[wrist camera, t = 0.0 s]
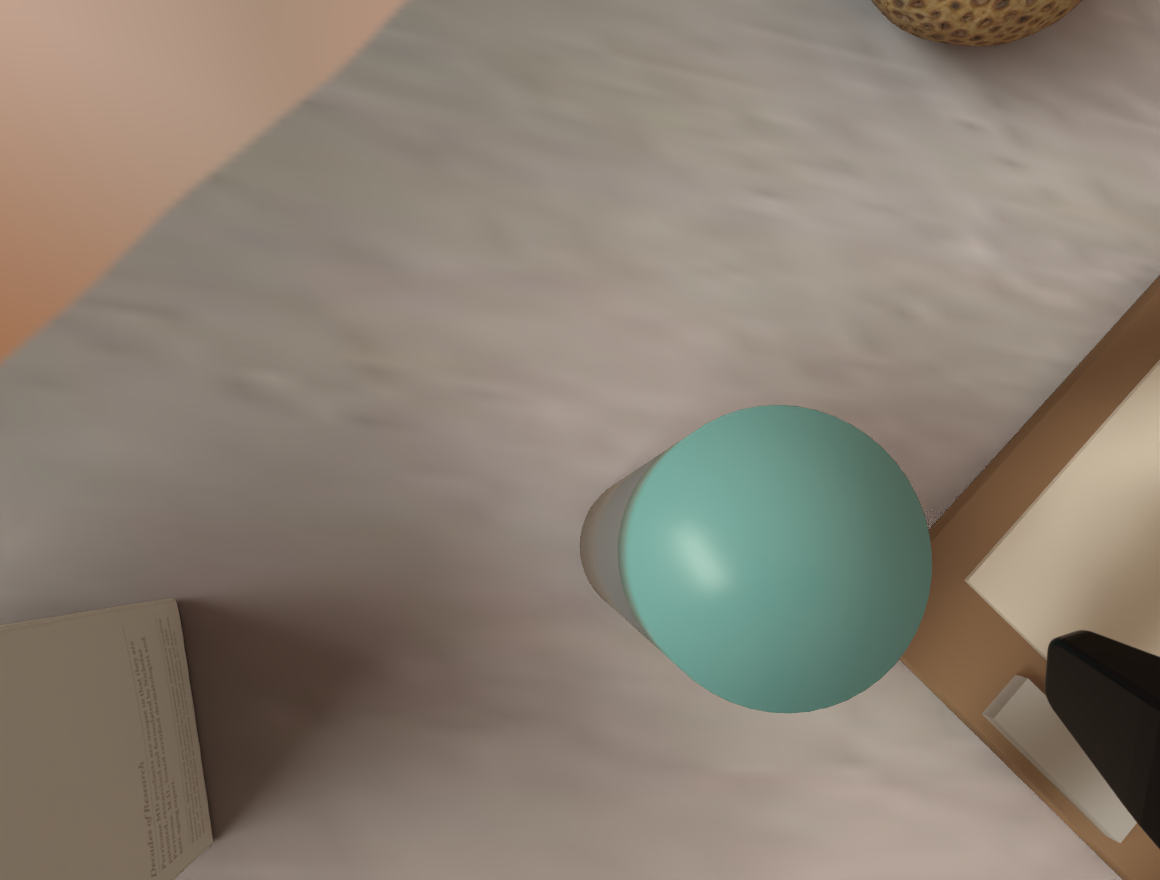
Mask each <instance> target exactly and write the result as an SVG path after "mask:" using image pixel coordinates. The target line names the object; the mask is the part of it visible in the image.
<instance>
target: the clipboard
mask: <svg viewBox="0 0 1160 880" xmlns="http://www.w3.org/2000/svg"><path fill="white" fill-rule="evenodd" d="M929 535H930V543H931V551H932V577H931V585H930V592H929V597H928V601H927V605H926V608H925V612H924V615H923V618H922V620H921V622H920V625H919V627H918V630H917V632H916V634H915V636H914V637H913V639H912V641H911V643H910V644H909V646H908V648H907V649H906V651H905V652H904V653H903V655H902V656H901V657H900V660H901V661H902V662H903V663H904V664H905V665H906V666H907V667H908V668H909V669H910V670H911V671H912V672H913V673H914V674H915V675H916V676H917V677H918V678H919V679H920V680H921V681H922V682H923V683H924V684H925V685H926V686H927V687H928V688H929V689H930V690H931V691H932V692H933V693H934V694H935V695H936V696H937V697H938V698H939V699H940V700H941V701H942V702H943V703H944V704H945V705H946V706H947V707H948V708H949V709H950V710H951V711H953V712H954V713H955V714H956V715H957V716H958V717H959V718H960V719H961V720H962V721H963V722H964V723H965V724H966V725H967V726H968V727H969V728H970V729H971V730H972V731H973V732H974V733H975V734H976V735H977V736H978V737H979V738H980V739H981V740H982V741H983V742H984V743H985V744H986V745H987V746H988V747H989V748H990V749H991V750H992V751H993V752H994V753H995V754H996V755H997V756H998V757H999V758H1000V759H1001V760H1002V761H1003V762H1004V763H1005V764H1006V765H1007V766H1008V767H1009V768H1010V769H1011V770H1012V771H1013V772H1014V773H1015V774H1016V775H1017V776H1018V777H1019V778H1020V779H1021V780H1022V781H1023V782H1024V783H1025V784H1026V785H1027V786H1028V787H1029V788H1030V789H1031V790H1033V791H1034V792H1035V793H1036V794H1037V795H1038V796H1039V797H1040V798H1041V799H1042V800H1043V801H1044V802H1045V803H1046V804H1047V805H1048V806H1049V807H1050V808H1051V809H1052V810H1053V811H1054V812H1055V813H1056V814H1057V815H1058V816H1059V817H1060V818H1061V819H1062V820H1063V821H1064V822H1065V823H1066V824H1067V825H1068V826H1069V827H1070V828H1071V829H1072V830H1073V831H1074V832H1075V833H1076V834H1077V835H1078V836H1079V837H1080V838H1081V839H1082V840H1083V841H1084V842H1085V843H1086V844H1087V845H1088V846H1089V847H1090V848H1091V849H1092V850H1093V851H1094V852H1095V853H1096V854H1097V855H1098V856H1099V857H1100V858H1101V859H1102V860H1103V861H1104V862H1105V863H1106V864H1107V865H1108V866H1109V867H1110V868H1111V869H1112V870H1114V871H1115V872H1116V873H1117V874H1118V875H1119V876H1120V877H1121V878H1122V879H1123V880H1160V849H1159V848H1158V847H1157V846H1156V845H1155V844H1154V842H1153V841H1152V840H1151V839H1150V838H1149V837H1148V835H1147V834H1146V833H1145V832H1144V831H1143V830H1142V828H1141V827H1140V826H1139V825H1138V823H1137V822H1136V821H1135V820H1134V818H1133V817H1132V816H1131V814H1130V813H1129V812H1128V811H1127V809H1126V808H1125V807H1124V805H1123V804H1122V803H1121V801H1120V800H1119V799H1118V797H1117V796H1116V795H1115V793H1114V792H1113V791H1112V789H1111V788H1110V787H1109V785H1108V784H1107V782H1106V781H1105V780H1104V778H1103V777H1102V776H1101V774H1100V773H1099V772H1098V770H1097V769H1096V768H1095V766H1094V765H1093V763H1092V762H1091V761H1090V759H1089V758H1088V757H1087V755H1086V754H1085V753H1084V751H1083V750H1082V749H1081V747H1080V746H1079V745H1078V743H1077V742H1076V740H1075V739H1074V738H1073V736H1072V735H1071V734H1070V732H1069V731H1068V730H1067V728H1066V727H1065V726H1064V724H1063V723H1062V722H1061V720H1060V719H1059V717H1058V716H1057V715H1056V713H1055V712H1054V711H1053V709H1052V708H1051V706H1050V704H1049V702H1048V700H1047V697H1046V693H1045V674H1046V662H1047V651H1048V645H1049V643H1050V642H1051V640H1052V639H1054V638H1056V637H1059V636H1062V635H1065V634H1068V633H1071V632H1074V631H1078V630H1087V631H1092V632H1095V633H1098V634H1100V635H1103V636H1106V637H1108V638H1111V639H1114V640H1116V641H1119V642H1122V643H1124V644H1127V645H1130V646H1132V647H1135V648H1138V649H1140V650H1143V651H1146V652H1148V653H1151V654H1154V655H1156V656H1159V657H1160V276H1159V277H1158V278H1157V279H1156V280H1155V281H1154V282H1153V283H1152V284H1151V286H1150V287H1149V288H1148V289H1147V290H1146V291H1145V292H1144V293H1143V294H1142V295H1141V297H1140V298H1139V299H1138V300H1137V301H1136V302H1135V303H1134V304H1133V305H1132V307H1131V308H1130V309H1129V310H1128V311H1127V312H1126V313H1125V314H1124V315H1123V316H1122V318H1121V319H1120V320H1119V321H1118V322H1117V323H1116V324H1115V325H1114V326H1113V328H1112V329H1111V330H1110V331H1109V332H1108V333H1107V334H1106V335H1105V336H1104V337H1103V339H1102V340H1101V341H1100V342H1099V343H1098V344H1097V345H1096V346H1095V347H1094V349H1093V350H1092V351H1091V352H1090V353H1089V354H1088V355H1087V356H1086V357H1085V358H1084V360H1083V361H1082V362H1081V363H1080V364H1079V365H1078V366H1077V367H1076V368H1075V370H1074V371H1073V372H1072V373H1071V374H1070V375H1069V376H1068V377H1067V378H1066V379H1065V381H1064V382H1063V383H1062V384H1061V385H1060V386H1059V387H1058V388H1057V389H1056V391H1055V392H1054V393H1053V394H1052V395H1051V396H1050V397H1049V398H1048V399H1047V400H1046V402H1045V403H1044V404H1043V405H1042V406H1041V407H1040V408H1039V409H1038V410H1037V412H1036V413H1035V414H1034V415H1033V416H1032V417H1031V418H1030V419H1029V420H1028V421H1027V423H1026V424H1025V425H1024V426H1023V427H1022V428H1021V429H1020V430H1019V431H1018V433H1017V434H1016V435H1015V436H1014V437H1013V438H1012V439H1011V440H1010V441H1009V442H1008V444H1007V445H1006V446H1005V447H1004V448H1003V449H1002V450H1001V451H1000V452H999V454H998V455H997V456H996V457H995V458H994V459H993V460H992V461H991V462H990V463H989V465H988V466H987V467H986V468H985V469H984V470H983V471H982V472H981V473H980V475H979V476H978V477H977V478H976V479H975V480H974V481H973V482H972V483H971V484H970V486H969V487H968V488H967V489H966V490H965V491H964V492H963V493H962V494H961V496H960V497H959V498H958V499H957V500H956V501H955V502H954V503H953V504H952V505H951V507H950V508H949V509H948V510H947V511H946V512H945V513H944V514H943V515H942V517H941V518H940V519H939V520H938V521H937V522H936V523H935V524H934V525H933V526H932V528H931V529H930V530H929Z"/></svg>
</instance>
